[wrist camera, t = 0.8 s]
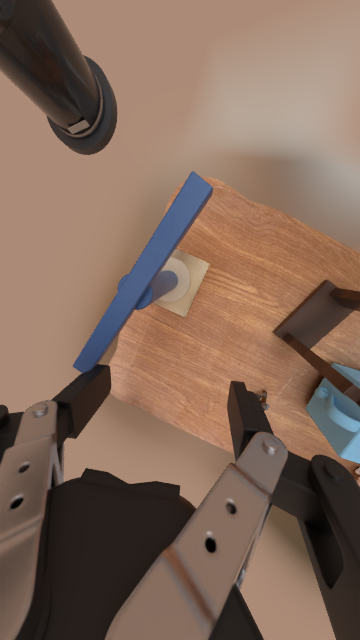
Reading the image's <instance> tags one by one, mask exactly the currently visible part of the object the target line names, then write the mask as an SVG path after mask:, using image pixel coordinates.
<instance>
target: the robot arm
mask: <svg viewBox="0 0 360 640" xmlns="http://www.w3.org/2000/svg"><path fill="white" fill-rule="evenodd" d="M0 71H1V72H2V73H3V74H4V75H5V76H6V77H7V78H8V79H10V81H12V83H14V84H15V85H16V86H17V87H18V88H19V89H20V90H21V91H22V92H23V93H24V94H25V95H26V96H27V97H28V98H29V99H30V100H31V101H32V102H33V103H34V104H35V105H36V106H38V107H39V108H40V109H41V110H42V111H43V112H44V113H45V114H46V115H47V116H48V117H49V118H50V119H51V120H52V121H53V122H54V123H55V124H56V125H57V126H58V128H59V129H61V130H62V131H63V132H64V133H65V134H66V135H67V136H69V137H71V138H73V139H77V140H83V139H87V138H89V137H91V136H92V135H93V134H94V133H95V132H96V131H97V130H98V128H99V127H100V125H101V123H102V120H103V116H104V110H105V101H104V94H103V90H102V87H101V85H100V83H99V81H98V79H97V77H96V76H95V74H94V72H93V71H92V69H91V68H90V66H89V65H88V63H87V61H86V59H85V58H84V56H83V54H82V52H81V51H80V49H79V47H78V45H77V44H76V42H75V40H74V38H73V37H72V35H71V33H70V32H69V30H68V28H67V26H66V24H65V23H64V21H63V19H62V18H61V16H60V14H59V12H58V11H57V9H56V7H55V5H54V4H53V2H52V0H0ZM110 390H111V374H110V366H108V365H100V364H97V365H96V366H94V367H93V368H92V369H91V370H90V371H86V372H85V373H83V374H81V375H79V376H78V377H77V378H76V379H75V380H74V381H72V382H71V383H70V384H69V385H68V386H67V387H66V388H64V389H63V390H62V391H61V392H60V393H59V394H58V395H56V396H55V397H54V398H53V399H52V400H49V401H48V400H47V401H42V402H39V403H36V404H34V405H32V406H31V407H29V408H28V409H27V410H26V411H25V412H18V413H10V414H9V412H8V408H7V407H6V406H5V405H0V640H264V639H263V637H262V635H261V633H260V631H259V629H258V627H257V625H256V623H255V621H254V619H253V617H252V615H251V612H250V610H249V609H248V606H247V604H246V602H245V600H244V598H243V596H242V594H241V593H240V589H241V586H242V583H243V581H244V578H245V576H246V573H247V571H248V568H249V565H250V563H251V560H252V557H253V554H254V551H255V549H256V546H257V543H258V540H259V538H260V535H261V533H262V530H263V528H264V525H265V523H266V520H267V518H268V515H269V513H270V510H271V508H272V505H275V506H277V507H279V508H280V509H283V510H284V511H286V512H288V513H289V514H291V515H293V516H295V517H297V520H298V523H299V526H300V529H301V532H302V535H303V538H304V541H305V544H306V547H307V550H308V554H309V557H310V560H311V562H312V566H313V569H314V572H315V575H316V579H317V581H318V585H319V588H320V591H321V594H322V597H323V600H324V603H325V606H326V610H327V613H328V616H329V618H330V622H331V625H332V628H333V631H334V634H335V637H336V640H360V487H359V485H358V484H357V482H356V481H355V479H354V477H353V476H352V475H351V473H350V472H349V471H348V470H347V469H346V468H345V467H344V466H342V465H341V464H340V463H338V462H337V461H335V460H334V459H332V458H330V457H327V456H324V455H315V456H313V457H312V459H311V461H309V460H307V459H305V458H302V457H300V456H298V455H295V454H293V453H291V452H289V451H288V450H287V448H286V446H285V445H284V443H283V442H282V441H281V440H280V439H279V438H277V437H276V436H274V434H273V431H272V429H271V426H270V424H269V422H268V419H267V417H266V414H265V413H264V410H263V407H262V405H261V402H260V400H259V398H258V397H257V396H256V395H255V394H254V393H253V392H250V391H247V389H246V386H245V383H244V382H238V381H231V384H230V390H229V396H228V403H227V410H228V417H229V423H230V430H231V436H232V442H233V448H234V454H235V460H236V463H235V464H233V463H230V464H229V465H228V466H227V467H226V469H225V470H224V472H223V473H222V474H221V476H220V477H219V479H218V480H217V481H216V483H215V484H214V486H213V487H212V488H211V490H210V491H209V493H208V494H207V495H206V497H205V498H204V500H203V501H202V502H201V504H200V506H199V507H198V508H197V509H196V508H195V507H194V506H193V505H192V504H191V503H190V502H189V501H188V500H186V499H185V498H183V497H182V496H180V495H179V493H180V486H179V485H173V484H169V483H163V482H158V481H154V482H144V483H136V484H128V483H126V482H124V481H122V480H120V479H119V478H117V477H115V476H114V475H112V474H110V473H108V472H104V471H98V470H93V469H88V468H86V469H85V471H84V472H83V474H82V476H81V477H80V478H75V479H71V480H69V481H66V482H64V481H63V474H64V473H63V472H64V441H65V439H66V438H67V437H68V438H74V439H76V438H77V437H78V435H79V434H80V433H81V431H82V430H83V429H84V427H85V426H86V425H87V423H88V422H89V420H90V419H91V418H92V416H93V415H94V414H95V412H96V411H97V410H98V408H99V407H100V406H101V404H102V403H103V401H104V400H105V399H106V398H107V396H108V394H109V393H110Z"/></svg>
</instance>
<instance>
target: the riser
mask: <svg viewBox="0 0 360 640" xmlns="http://www.w3.org/2000/svg"><path fill="white" fill-rule="evenodd" d="M170 257H172V258H176V259H178V260H180V261H182V262H183V263H184V264H185V265H186V266H187V268H188V269H189V271H190V275H191V285H190V288H189V290H188V292H187V293H186V295H185V296H184V297H183V298H181V299H180V300H178V301H175V302H164V301H161V300H159V299H157V300H156V301H154V302H153V303H154V304H156V305H158V306H160V307H163V308H165V309H167V310H169V311H171V312H174V313H176V314H178V315H180V316H182V317H186V315H187V313H188V311H189V308H190V306H191V304H192V302H193V300H194V298H195V295H196V293H197V291H198V289H199V287H200V285H201V283H202V280H203V278H204V276H205V274H206V272H207V270H208V267H209V265H210V263H208V262H205V261H203V260H201V259H199V258H197V257H194V256H192V255H190V254H188V253H186V252H183V251H181V250H179V249H177V248H176V249H175V251H174V252H173V253H172V255H171V256H170Z"/></svg>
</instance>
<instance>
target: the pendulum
mask: <svg viewBox="0 0 360 640" xmlns="http://www.w3.org/2000/svg"><path fill="white" fill-rule="evenodd" d="M212 191H213V188H212V186H211V185H209V184H208V183H207V182H206V181H205V180H203V179H202V178H201V177H200V176H198V175H197V174H196V173H195V172H192V173H191V174H190V176H189V178H188V179H187V180H186V182H185V184H184V185H183V187H182V189H181V190H180V192H179V194H178V195H177V197H176V198H175V200H174V202H173V203H172V205H171V207H170V208H169V210H168V211H167V213H166V215H165V216H164V218H163V220H162V221H161V223H160V224H159V226H158V228H157V230H156V231H155V233H154V234H153V236H152V238H151V239H150V241H149V243H148V244H147V246H146V247H145V249H144V250H143V252H142V254H141V255H140V257H139V259H138V260H137V262H136V264H135V265H134V267H133V268H132V270H131V272H130V273H129V274H127V275H125V276H124V277H123V278H122V279H121V280H120V282H119V285H118V293H117V295H116V296H115V298H114V299H113V301H112V303H111V304H110V306H109V308H108V309H107V311H106V312H105V314H104V316H103V317H102V319H101V321H100V322H99V324H98V325H97V327H96V329H95V330H94V332H93V334H92V335H91V337H90V338H89V340H88V342H87V343H86V345H85V347H84V348H83V350H82V352H81V353H80V355H79V357H78V358H77V360H76V361H75V363H74V364H73V367H74V368H76V369H77V370H78V371H80V372H81V373H85V372H86V371H90V370H91V369H92V368H93V367H94V366H96V365H97V364H98V363H99V362H100V360H101V359H102V357H103V356H104V354H105V353H106V351H107V350H108V348H109V347H110V345H111V344H112V343H113V341H114V339H115V338H116V337H117V335H118V334H119V332H120V331H121V329H122V328H123V326H124V325H125V323H126V322H127V320H128V319H129V317H130V316H131V314H132V313H133V311H134V310H139V309H143V308H145V307H147V306H148V305H150V304H151V303H153V302H154V301H156V300H157V299H159V300H161V301H164V302H175V301H178V300H180V299H181V298H183V297H184V296H185V295H186V293H187V292H188V290H189V288H190V285H191V275H190V271H189V269H188V268H187V266H186V265H185V264H184V263H183V262H182V261H180V260H178V259H176V258H172V257H170V256H171V255H172V253H173V252H174V251H175V249H176V248H177V246H178V245H179V243H180V242H181V240H182V239H183V237H184V236H185V234H186V233H187V231H188V230H189V228H190V227H191V225H192V224H193V222H194V221H195V219H196V218H197V216H198V215H199V213H200V212H201V210H202V209H203V207H204V206H205V204H206V203H207V202H208V200H209V199H210V197H211V196H212Z"/></svg>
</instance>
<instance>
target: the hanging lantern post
mask: <svg viewBox="0 0 360 640" xmlns="http://www.w3.org/2000/svg"><path fill="white" fill-rule="evenodd" d="M256 396H257V397H258V398H259V400H260V398H261V397H262V399H261V401H260V402H261V405H262V407H263V410H264V411H265V410H268V408H269V405H268V404H266V398H267V392H266V391H263V394H262V396H260V395H258V394H256Z"/></svg>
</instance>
